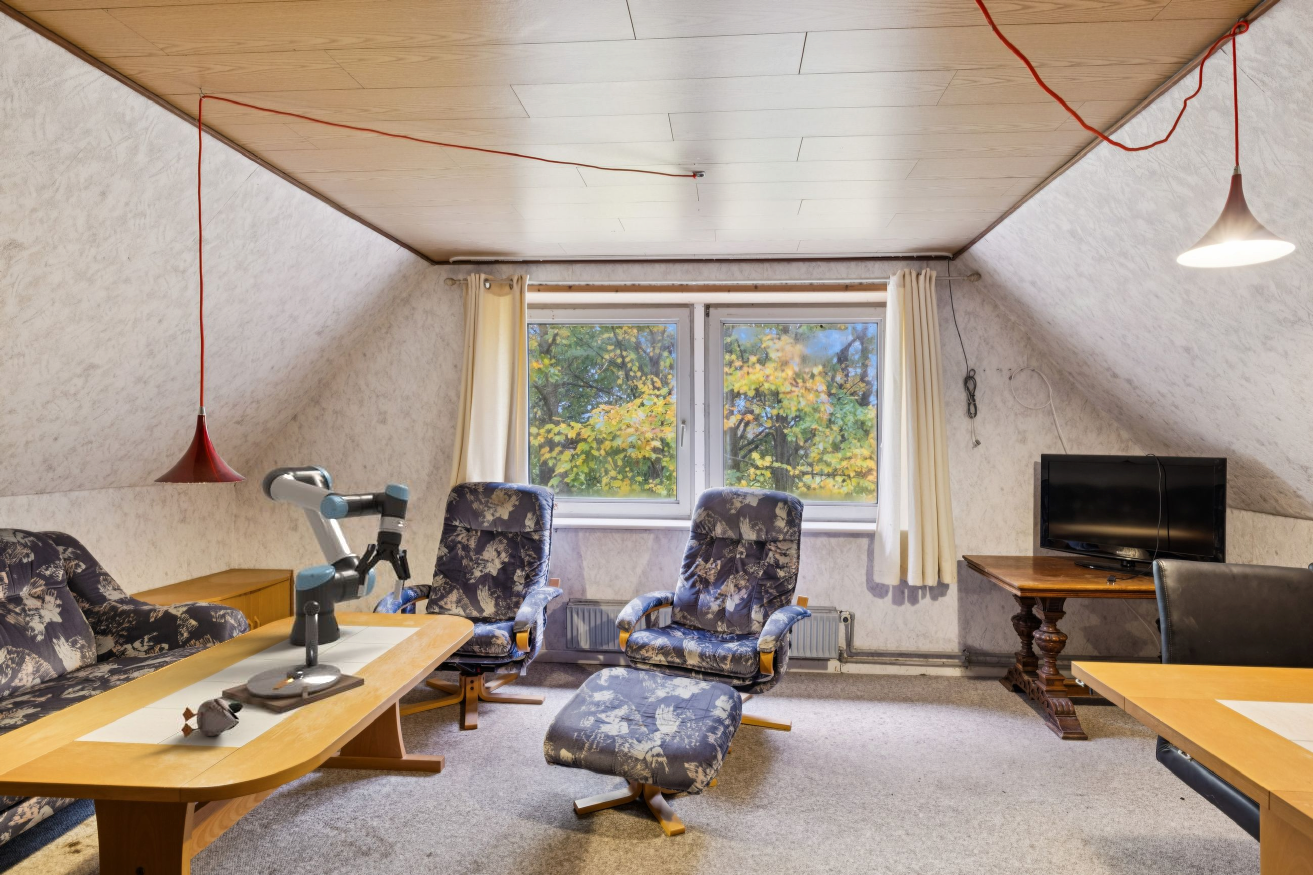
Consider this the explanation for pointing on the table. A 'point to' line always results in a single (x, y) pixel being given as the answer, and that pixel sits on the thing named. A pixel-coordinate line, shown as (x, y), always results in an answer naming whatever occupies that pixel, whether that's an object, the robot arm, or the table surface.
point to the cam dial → (298, 668)
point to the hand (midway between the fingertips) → (379, 598)
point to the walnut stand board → (292, 702)
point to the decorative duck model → (213, 717)
